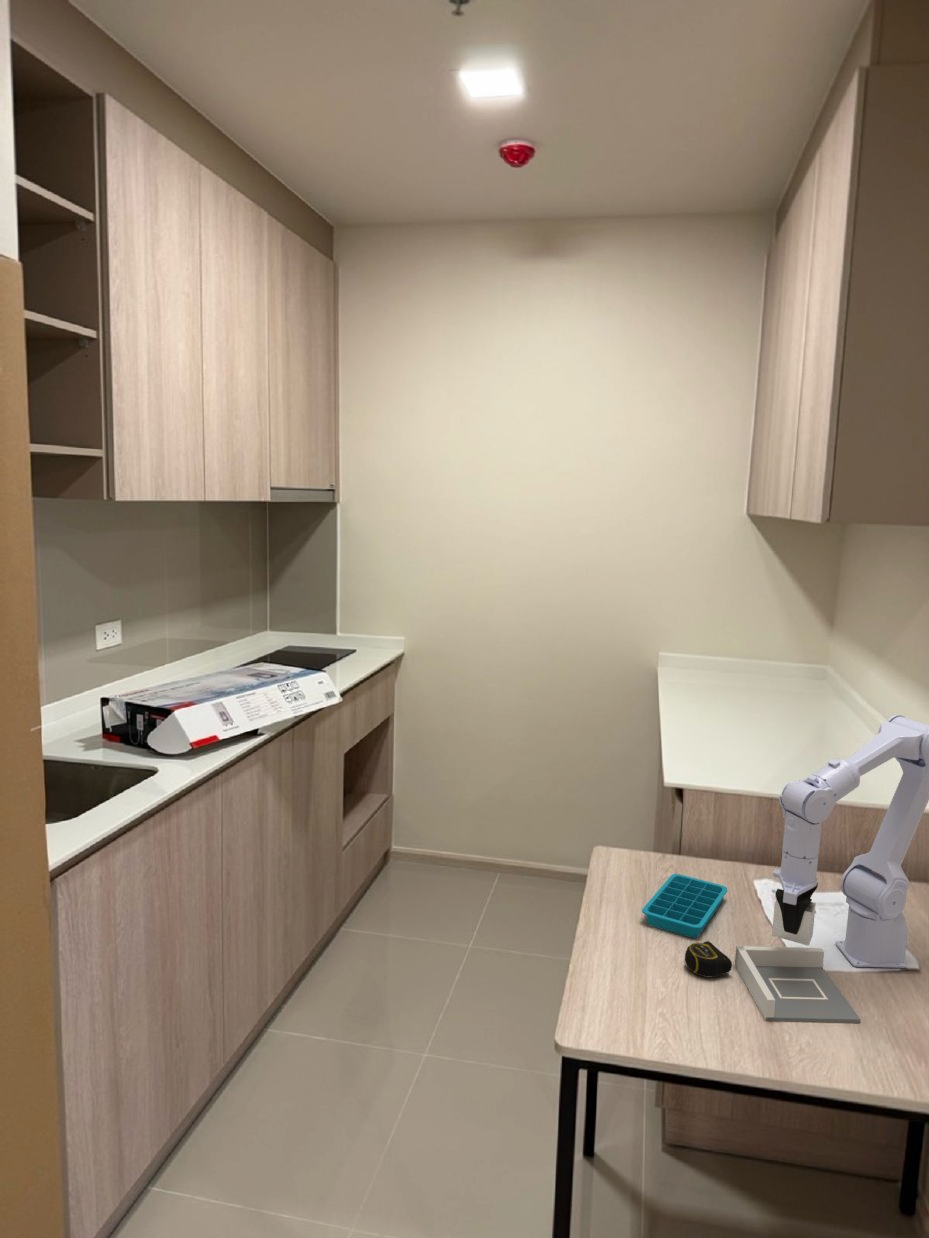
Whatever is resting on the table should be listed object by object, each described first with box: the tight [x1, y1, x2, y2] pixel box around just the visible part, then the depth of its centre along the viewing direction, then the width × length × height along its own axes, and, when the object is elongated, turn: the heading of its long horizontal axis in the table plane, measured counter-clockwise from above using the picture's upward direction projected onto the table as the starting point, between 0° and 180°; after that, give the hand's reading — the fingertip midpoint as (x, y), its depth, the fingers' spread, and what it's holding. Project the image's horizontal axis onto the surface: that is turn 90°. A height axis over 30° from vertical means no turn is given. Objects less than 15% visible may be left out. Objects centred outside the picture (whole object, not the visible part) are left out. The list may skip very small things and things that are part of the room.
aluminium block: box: [771, 899, 817, 946], centre depth 150 cm, size 4×6×6 cm, turn 59°
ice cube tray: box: [641, 873, 728, 939], centre depth 172 cm, size 12×20×3 cm, turn 149°
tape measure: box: [684, 940, 733, 978], centre depth 152 cm, size 7×7×4 cm
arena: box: [734, 945, 862, 1024], centre depth 145 cm, size 15×16×4 cm
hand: (793, 926), depth 150 cm, fingers closed on aluminium block, 4 cm apart
